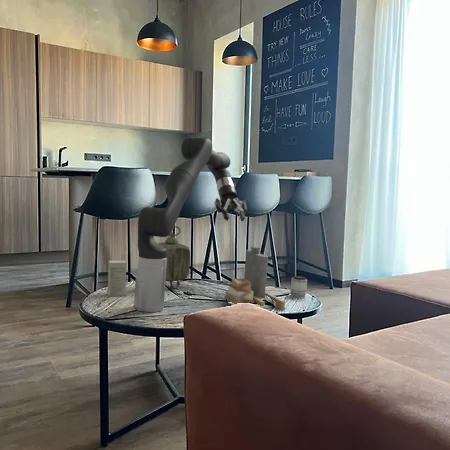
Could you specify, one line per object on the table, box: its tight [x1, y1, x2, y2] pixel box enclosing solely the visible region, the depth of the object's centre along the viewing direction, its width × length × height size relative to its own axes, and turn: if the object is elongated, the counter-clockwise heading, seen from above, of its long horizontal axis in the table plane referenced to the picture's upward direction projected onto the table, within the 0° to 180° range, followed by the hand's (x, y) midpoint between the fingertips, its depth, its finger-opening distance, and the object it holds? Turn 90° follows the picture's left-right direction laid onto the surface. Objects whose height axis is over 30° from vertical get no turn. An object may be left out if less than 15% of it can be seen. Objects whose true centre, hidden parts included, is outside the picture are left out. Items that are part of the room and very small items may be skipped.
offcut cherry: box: [231, 278, 251, 291], centre depth 162 cm, size 5×7×3 cm
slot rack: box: [229, 283, 286, 311], centre depth 170 cm, size 10×28×3 cm, turn 22°
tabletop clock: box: [157, 225, 191, 290], centre depth 177 cm, size 14×9×25 cm, turn 122°
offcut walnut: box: [225, 294, 254, 304], centre depth 162 cm, size 7×9×3 cm
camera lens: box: [290, 275, 308, 299], centre depth 181 cm, size 6×6×8 cm
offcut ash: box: [227, 286, 253, 301], centre depth 162 cm, size 6×8×3 cm
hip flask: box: [243, 246, 269, 299], centre depth 172 cm, size 16×4×20 cm, turn 20°
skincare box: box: [107, 260, 127, 297], centre depth 162 cm, size 6×4×12 cm
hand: (235, 219), depth 185 cm, fingers open, 6 cm apart
